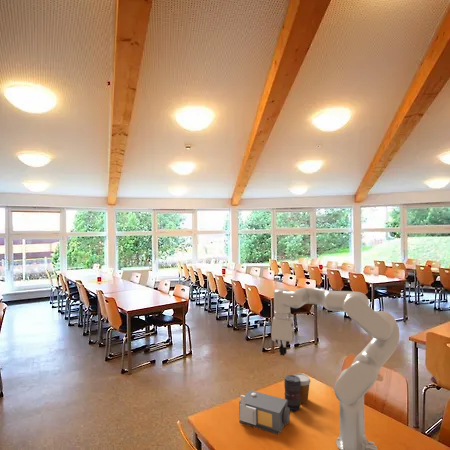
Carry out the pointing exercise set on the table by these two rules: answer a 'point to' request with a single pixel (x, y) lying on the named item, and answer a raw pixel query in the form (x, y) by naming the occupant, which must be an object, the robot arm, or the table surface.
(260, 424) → the housing
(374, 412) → the table surface
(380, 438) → the table surface
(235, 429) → the table surface
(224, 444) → the table surface
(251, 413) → the hatch
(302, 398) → the disposable coffee cup
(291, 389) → the camera lens
